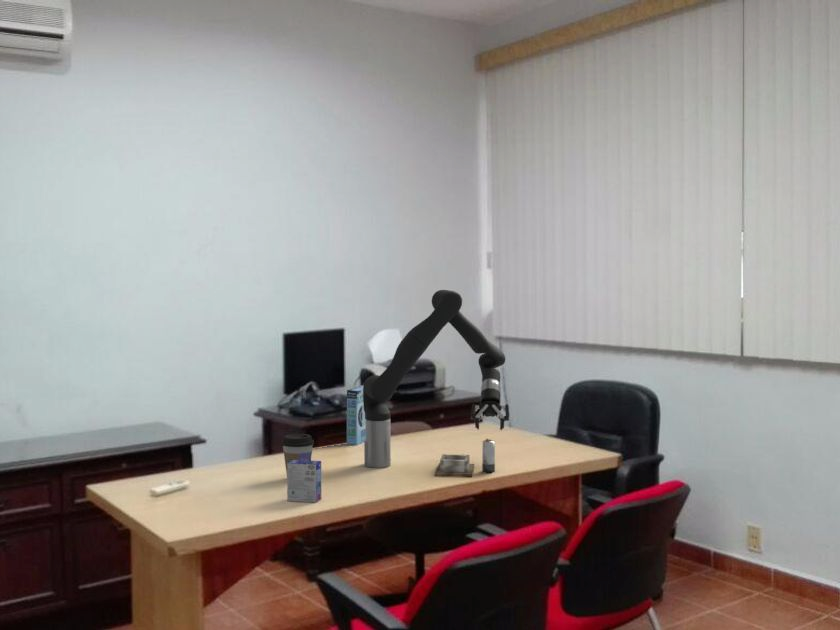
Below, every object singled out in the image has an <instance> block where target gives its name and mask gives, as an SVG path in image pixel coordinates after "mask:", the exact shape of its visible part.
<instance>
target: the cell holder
mask: <svg viewBox="0 0 840 630" xmlns="http://www.w3.org/2000/svg"><path fill="white" fill-rule="evenodd" d="M473 469H474V470H475V464H474V463H470V454H445V453H444V454H441V458H440V460H439V463H438V465H437V467H436V469H435V472H434V476H435V477H450V476H468V477H467V478H472V477H473V475H474V474H473V473H474V470H473Z"/></svg>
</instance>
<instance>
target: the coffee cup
mask: <svg viewBox="0 0 840 630" xmlns="http://www.w3.org/2000/svg"><path fill="white" fill-rule="evenodd" d="M283 437H284V438H283V439H282V440H281V446H282V450H283V455H284V456H283V457H284V464H285V471H286V474H287V463H289V462H290V461H292V460H299V458H300V454H301V453H307V454H311V456H312V455H313V454H312V453H313V446H314V445H315V440H314V439H313V438H312V435H311V434H309V433H308V434H307V433H292V434H287V435H284V436H283ZM302 458H309V456H306V455H305V456H302Z"/></svg>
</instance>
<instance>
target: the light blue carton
mask: <svg viewBox="0 0 840 630" xmlns="http://www.w3.org/2000/svg"><path fill="white" fill-rule="evenodd" d="M363 386H364V384H362V385H359V386H356V387H353V388H350V389H347V390H346V445H347V446H348V445H349V446H358V445H360V444H362V443H363V442H364V441H365V440H366V418H365V412H364V405H363Z"/></svg>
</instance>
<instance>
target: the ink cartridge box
mask: <svg viewBox="0 0 840 630" xmlns="http://www.w3.org/2000/svg"><path fill="white" fill-rule="evenodd" d="M305 455H306V456H309V458H302V456H305ZM286 477H287V478H286V479H287V480H286V482H287V483H286V484H287V486H286V491H287V493H286V498H287V499H286V500H287V502H304V503H317V502H319V501H320V500H322V461H321V460H312V455H311V454H307V453H301V454H300V458H299V460H292V461H290V462H289V463H287V473H286Z"/></svg>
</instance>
